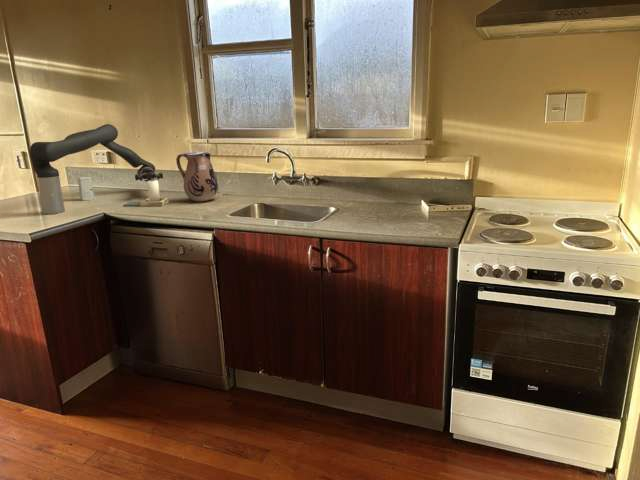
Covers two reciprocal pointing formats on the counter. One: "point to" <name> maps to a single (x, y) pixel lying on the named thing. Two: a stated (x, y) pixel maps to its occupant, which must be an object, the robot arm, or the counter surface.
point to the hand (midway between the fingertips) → (149, 178)
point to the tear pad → (132, 203)
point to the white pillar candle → (153, 190)
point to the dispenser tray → (156, 203)
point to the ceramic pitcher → (198, 176)
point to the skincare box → (85, 188)
